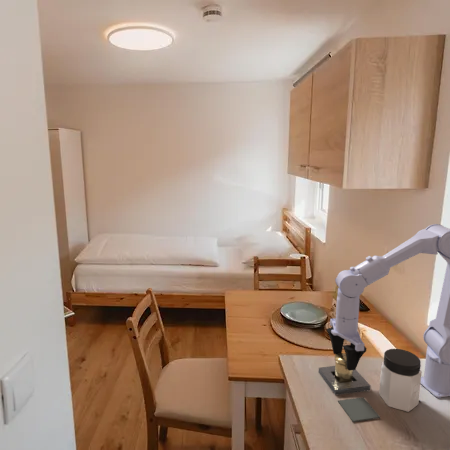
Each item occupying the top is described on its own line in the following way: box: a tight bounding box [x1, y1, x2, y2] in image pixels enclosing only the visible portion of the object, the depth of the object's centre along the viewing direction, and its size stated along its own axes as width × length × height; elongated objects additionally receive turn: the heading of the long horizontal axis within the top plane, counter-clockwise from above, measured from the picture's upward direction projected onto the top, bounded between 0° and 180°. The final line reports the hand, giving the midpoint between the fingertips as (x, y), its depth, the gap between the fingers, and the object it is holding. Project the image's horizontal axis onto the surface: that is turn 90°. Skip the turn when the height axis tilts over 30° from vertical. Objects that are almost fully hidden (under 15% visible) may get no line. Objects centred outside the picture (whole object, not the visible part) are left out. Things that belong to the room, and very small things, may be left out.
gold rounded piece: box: [334, 352, 353, 383], centre depth 94 cm, size 5×5×7 cm
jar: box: [378, 348, 423, 412], centre depth 86 cm, size 9×8×12 cm
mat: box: [337, 396, 381, 423], centre depth 84 cm, size 7×7×1 cm
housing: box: [318, 365, 371, 396], centre depth 94 cm, size 10×10×2 cm
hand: (344, 361), depth 94 cm, fingers open, 7 cm apart
